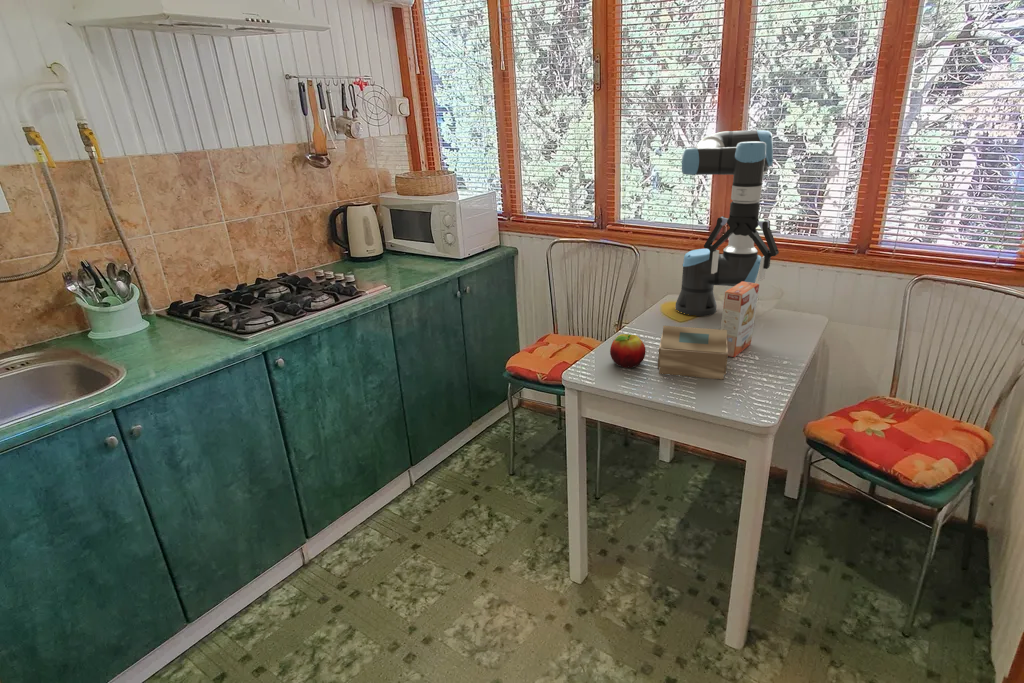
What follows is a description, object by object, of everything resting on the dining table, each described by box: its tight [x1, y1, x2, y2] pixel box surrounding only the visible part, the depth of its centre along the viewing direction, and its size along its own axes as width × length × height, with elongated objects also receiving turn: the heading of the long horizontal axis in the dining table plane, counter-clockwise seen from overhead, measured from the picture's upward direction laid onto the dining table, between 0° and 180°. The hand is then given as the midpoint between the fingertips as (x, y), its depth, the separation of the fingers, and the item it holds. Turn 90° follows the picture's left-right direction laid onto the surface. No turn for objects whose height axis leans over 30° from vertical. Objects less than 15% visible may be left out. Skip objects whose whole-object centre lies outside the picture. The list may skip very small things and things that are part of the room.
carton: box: [657, 332, 729, 381], centre depth 170 cm, size 14×19×8 cm
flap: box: [661, 325, 727, 353], centre depth 163 cm, size 7×18×1 cm
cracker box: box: [720, 281, 760, 358], centre depth 179 cm, size 14×6×21 cm, turn 138°
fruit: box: [609, 333, 647, 369], centre depth 174 cm, size 11×11×10 cm
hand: (737, 276), depth 164 cm, fingers open, 13 cm apart
